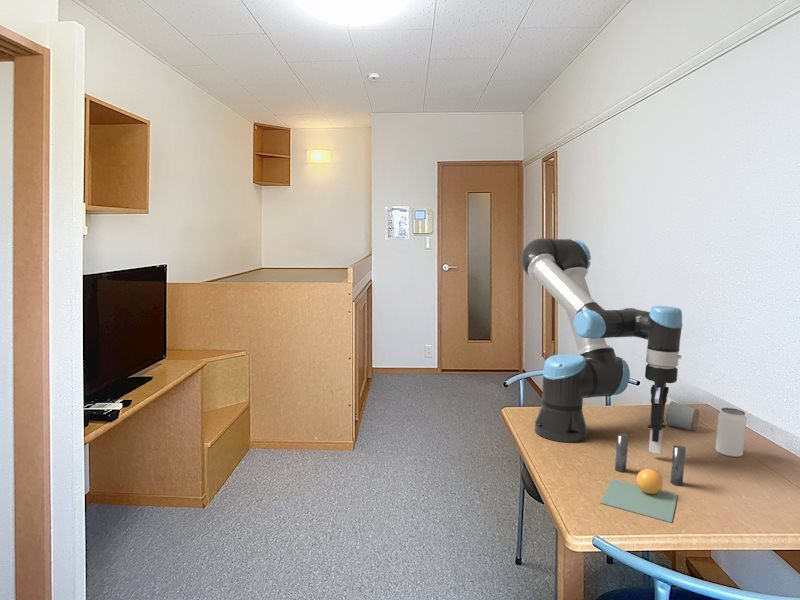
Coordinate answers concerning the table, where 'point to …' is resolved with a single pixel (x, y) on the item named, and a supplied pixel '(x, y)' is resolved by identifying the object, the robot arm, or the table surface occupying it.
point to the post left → (621, 452)
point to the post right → (678, 465)
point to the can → (731, 432)
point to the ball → (649, 481)
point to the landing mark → (640, 500)
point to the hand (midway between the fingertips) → (654, 451)
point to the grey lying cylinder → (682, 416)
